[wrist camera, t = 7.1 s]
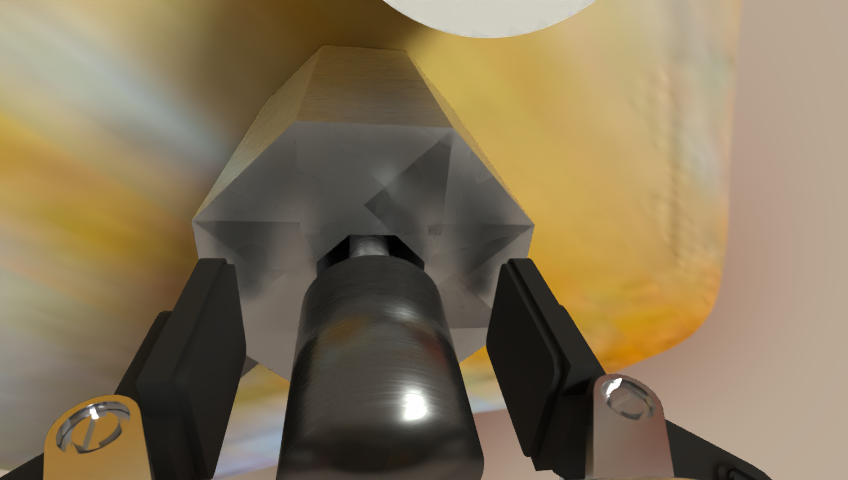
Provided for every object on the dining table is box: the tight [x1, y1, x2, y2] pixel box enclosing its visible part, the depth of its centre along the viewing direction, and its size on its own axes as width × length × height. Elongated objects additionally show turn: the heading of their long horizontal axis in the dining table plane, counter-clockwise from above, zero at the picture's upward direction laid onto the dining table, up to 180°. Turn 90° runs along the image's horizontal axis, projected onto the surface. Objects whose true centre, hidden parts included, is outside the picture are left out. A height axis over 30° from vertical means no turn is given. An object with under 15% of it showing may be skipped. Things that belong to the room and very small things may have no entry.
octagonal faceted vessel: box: [191, 45, 534, 381], centre depth 19 cm, size 12×9×12 cm
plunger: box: [276, 235, 484, 480], centre depth 15 cm, size 4×4×17 cm
